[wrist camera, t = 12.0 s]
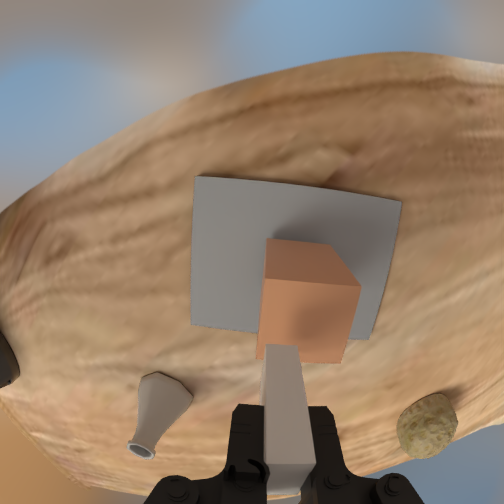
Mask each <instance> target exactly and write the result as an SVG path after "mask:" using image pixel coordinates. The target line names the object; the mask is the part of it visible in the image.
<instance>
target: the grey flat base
mask: <svg viewBox="0 0 504 504" xmlns="http://www.w3.org/2000/svg"><path fill="white" fill-rule="evenodd" d="M401 206H402V202H400V201H397V200H392V199H386V198H381V197H375V196H370V195H364V194H358V193H352V192H346V191H339V190H333V189H326V188H319V187H311V186H303V185H295V184H287V183H278V182H269V181H258V180H248V179H236V178H223V177H208V176H195V184H194V200H193V219H192V245H191V325H196V326H203V327H210V328H218V329H225V330H233V331H242V332H251V333H258V323H259V310H260V296H261V287H262V277H263V268H264V258H265V249H266V239H267V238H271V239H281V240H291V241H301V242H310V243H320V244H329V245H331V247H332V248H333V249H334V250H335V252H336V253H337V254H338V256H339V257H340V258H341V259H342V261H343V262H344V263H345V265H346V266H347V267H348V269H349V270H350V271H351V273H352V274H353V275H354V277H355V278H356V279H357V281H358V282H359V283H360V285H361V286H362V288H361V292H360V297H359V301H358V305H357V308H356V312H355V316H354V320H353V323H352V327H351V331H350V334H349V337H348V339H357V340H369V338H370V335H371V332H372V329H373V326H374V322H375V319H376V316H377V313H378V309H379V306H380V302H381V299H382V295H383V291H384V288H385V284H386V280H387V276H388V272H389V268H390V263H391V259H392V254H393V250H394V245H395V240H396V235H397V230H398V224H399V218H400V212H401Z"/></svg>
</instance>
